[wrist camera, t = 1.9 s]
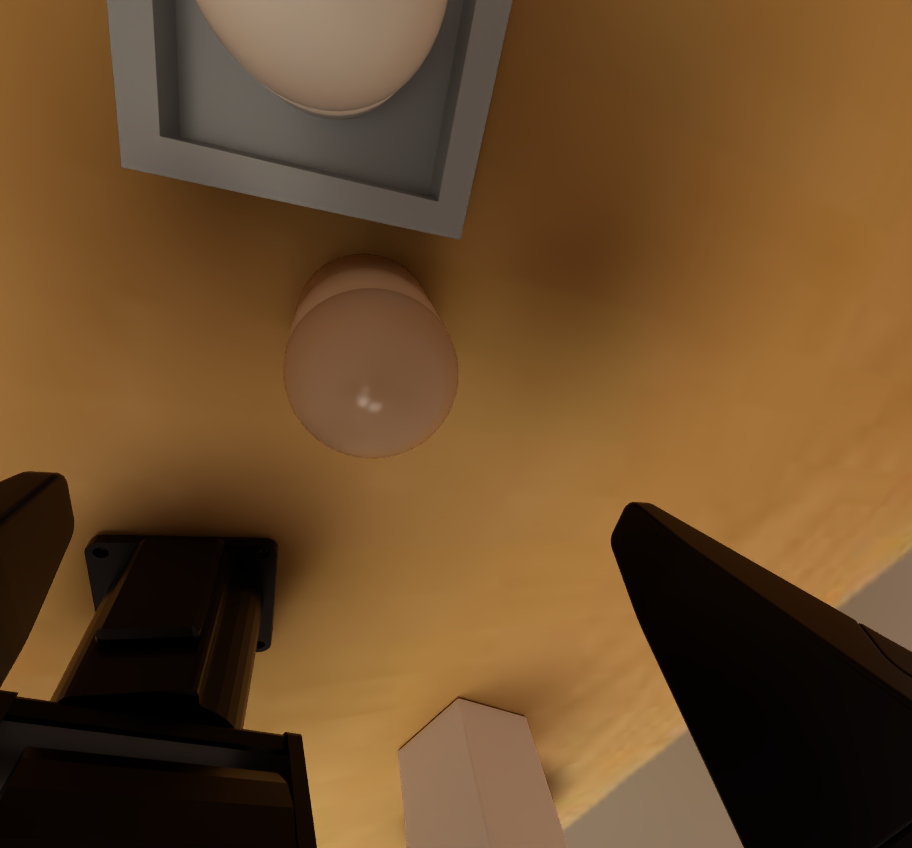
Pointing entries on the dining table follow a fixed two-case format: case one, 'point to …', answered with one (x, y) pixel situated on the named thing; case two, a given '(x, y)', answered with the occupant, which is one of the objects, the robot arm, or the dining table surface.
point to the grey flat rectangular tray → (306, 119)
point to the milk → (476, 783)
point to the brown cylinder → (369, 359)
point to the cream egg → (328, 48)
